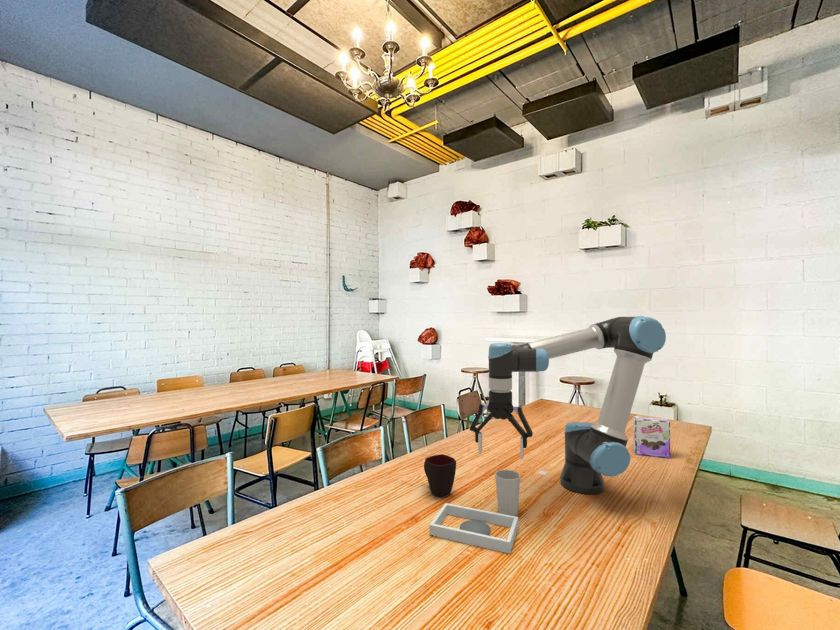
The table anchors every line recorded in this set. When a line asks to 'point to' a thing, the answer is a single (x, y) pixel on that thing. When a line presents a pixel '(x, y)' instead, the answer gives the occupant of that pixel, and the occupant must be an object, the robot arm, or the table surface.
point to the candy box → (651, 437)
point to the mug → (440, 474)
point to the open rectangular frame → (473, 537)
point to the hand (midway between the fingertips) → (500, 455)
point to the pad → (476, 527)
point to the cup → (507, 491)
